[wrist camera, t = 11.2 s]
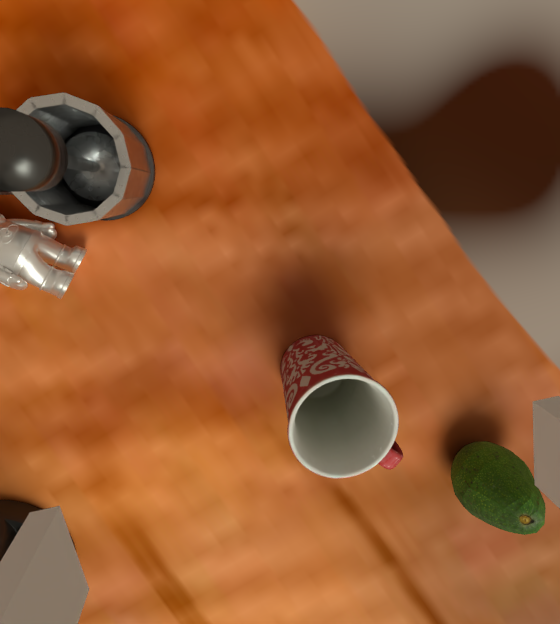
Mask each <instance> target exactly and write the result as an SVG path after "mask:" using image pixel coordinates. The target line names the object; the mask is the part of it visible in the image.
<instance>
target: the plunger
mask: <svg viewBox="0 0 560 624" xmlns="http://www.w3.org/2000/svg"><path fill="white" fill-rule="evenodd" d="M120 168H121V166H120V162H119V158H118V154H117V150H116V146H115V142H114V139H113V138H111V137H109V136H107V135H105V134H102V133H99V132H84V133H80V134H78V135H76V136H74V137H73V138H72V139H70V140H69V141H68V142H67V144H66V145H65V143H64V141H63V139H62V137H61V136H60V134H59V133H58V132H57V131H56V130H55V129H54V128H53V127H52V126H50V125H49V124H47V123H46V122H44V121H42V120H40V119H37V118H34V117H32V116H29V115H27V114H24V113H22V112H19V111H16V110H13V109H9V108H0V190H4V191H13V192H23V191H44V190H47V189H50V188H52V187H54V186H55V185H56V184H58V183H59V182H60V181H61V179H62V178H63V177H64V179H65V181H66V183H67V184H68V186H69V187H70V188H71V189H72V190H73V191H74V192H75V193H77V194H78V195H80V196H82V197H84V198H86V199H90V200H95V201H101V200H106V199H107V198H108V197H109V196H111V195H112V194H113V193H114V189H115V185H116V182H117V178H118V175H119V171H120Z"/></svg>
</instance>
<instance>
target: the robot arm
mask: <svg viewBox="0 0 560 624" xmlns="http://www.w3.org/2000/svg"><path fill="white" fill-rule="evenodd" d="M533 436H534V482H535V486H536V487H537V488H539V489H540V490H541V491H542V492H543V493H544V494H545V495H546V496H547V497H548V498H549V499H550V500H551V501H552V502H553V503H554V504H556V505H557V506H558V507H559V508H560V397H559V396H556V397H551V398H547V399H542V400H538V401H533ZM88 591H89V587H88V584H87V582H86V579H85V576H84V573H83V570H82V567H81V565H80V562H79V559H78V556H77V553H76V551H75V547H74V544H73V541H72V539H71V536H70V534H69V531H68V528H67V525H66V522H65V520H64V517H63V514H62V511H61V508H60V506H57V507H52V508H48V509H43V510H41V509H39V508H37V507H35V506H32V505H29V504H26V503H22V502H18V501H11V500H0V624H78V621H79V618H80V615H81V612H82V609H83V606H84V603H85V600H86V597H87V594H88Z"/></svg>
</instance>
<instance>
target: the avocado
mask: <svg viewBox="0 0 560 624" xmlns="http://www.w3.org/2000/svg"><path fill="white" fill-rule="evenodd" d="M451 479H452V484H453V488H454V492H455V495H456V496H457V498H458V499H459V501H460V502H461V503H462V505H463V506H464V507H465V508H466V509H467V510H468V511H469V512H470V513H471V514H472V515H474V516H476V517H477V518H479V519H481V520H483V521H484V522H486V523H488V524H490V525H492V526H495V527H497V528H499V529H502V530H505V531H508V532H513V533H518V534H524V535H525V534H531V533H537V532H538V531H539V529H540V528H541V527H542V526H543V525H544V522H545V503H544V500H543V498H542V495H541V493H540V491H539V489H538V488H537V487H536V486H535V482H534V478H533V476H532V474H531V472H530V470H529V468H528V467H527V465H526V464H525V463H524V461H522V460H521V459H520V458H519V457H518V456H516V455H515V454H514V453H513V452H511V451H510V450H508V449H506V448H504V447H502V446H499V445H497V444H494V443H491V442H485V441H482V442H473V443H471V444H468V445H465V446H464V447H463V448H462V449H461V450H460V451H459V452H458V453H457V454H456V456H455V458H454V460H453V463H452V467H451Z"/></svg>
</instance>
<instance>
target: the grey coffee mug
mask: <svg viewBox="0 0 560 624" xmlns="http://www.w3.org/2000/svg"><path fill="white" fill-rule="evenodd" d="M16 111H19V112H22V113H24V114H27V115H29V116H32V117H34V118H37V119H40V120H42V121H44V122H46V123H47V124H49V125H50V126H52V127H53V128H54V129H55V130H56V131H57V132H58V133H59V134H60V136H61V137H62V139H63V141H64V143H65V145H66V144H67V142H68V141H69V140H70V139H72V138H73V137H74V136H76V135H78V134H80V133H84V132H99V133H102V134H105V135H107V136H109V137H111V138H113V139H114V142H115V146H116V150H117V154H118V158H119V162H120V166H121V168H120V171H119V175H118V178H117V182H116V185H115V189H114V193H113V194H112V195H111V196H109V197H108V198H107V199H106V200H101V201H95V200H90V199H86V198H84V197H82V196H80V195H78V194H77V193H75V192H74V191H73V190H72V189H71V188H70V187H69V186H68V184H67V183H66V181H65V179H64V177H63V178H62V179H61V181H60V182H59V183H58V184H56V185H55V186H54V187H52V188H50V189H47V190H44V191H23V192H13V191H4V190H0V195H12V194H14V195H15V196H16V197H17V198H18V199H19V200H20V201H21V202H22V203H23V204H24V205H25V206H26V207H27V208H28V209H29V210H30V211H31V212H32V213H33V214H34V215H36V216H39V217H42V218H45V219H48V220H51V221H54V222H57V223H60V224H63V225H66V226H68V225H74V224H80V223H85V222H91V221H97V220H115V219H119V218H123V217H125V216H128V215H130V214H132V213H133V212H135V211H136V210H138V209H139V208H140V207H141V206H142V205H143V204H144V203H145V201H146V200H147V199H148V197H149V195H150V193H151V191H152V188H153V185H154V180H155V164H154V159H153V155H152V152H151V150H150V148H149V146H148V144H147V142H146V141H145V139H144V138H143V137H142V135H141V134H140V133H139V132H138V131H137V130H136V129H135V128H134V127H132V126H131V125H130V124H129V123H127V122H125V121H124V120H122V119H120V118H118V117H116V116H113V115H111V114H110V113H108V112H107V111H105V110H104V109H102V108H101V107H99V106H98V105H95V104H93V103H90V102H88V101H85V100H82V99H80V98H77V97H75V96H72V95H70V94H67V93H64V92H63V93H57V94H50V95H44V96H38V97H31V98H29V99H28V100H26V101H25V102H24V103H23V104H22V105H21V106H20V107H19V108H18V109H17V110H16Z"/></svg>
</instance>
